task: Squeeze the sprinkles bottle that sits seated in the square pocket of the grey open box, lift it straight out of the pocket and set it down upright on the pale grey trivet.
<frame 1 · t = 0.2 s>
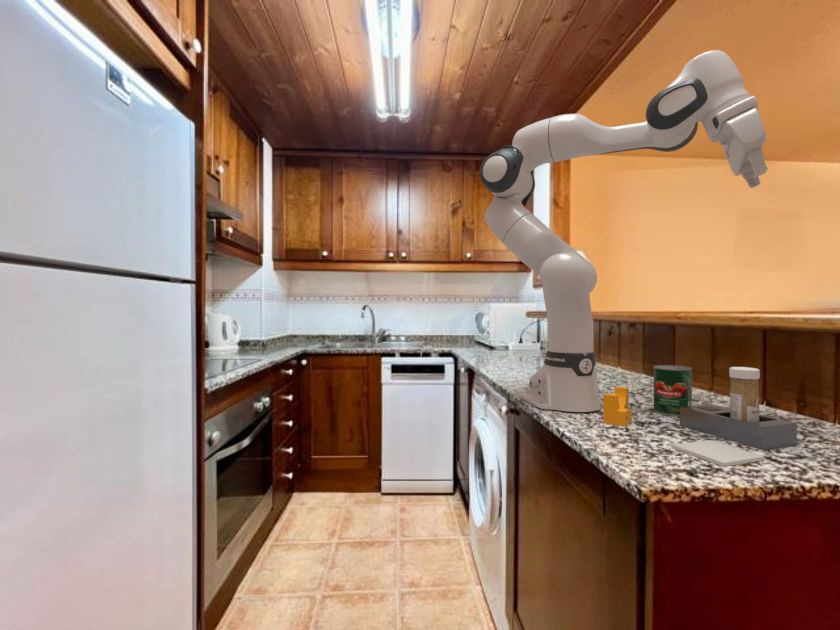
hand: (758, 180, 82), 51 cm above the counter, tool tilted 20°, fingers open, 8 cm apart
orange stepped block: (620, 420, 91), on the counter
sprinkles bottle: (744, 438, 77), resting in grey open box
grey open box: (733, 434, 79), on the counter
canned tomato: (672, 413, 96), on the counter
trivet: (716, 453, 68), on the counter
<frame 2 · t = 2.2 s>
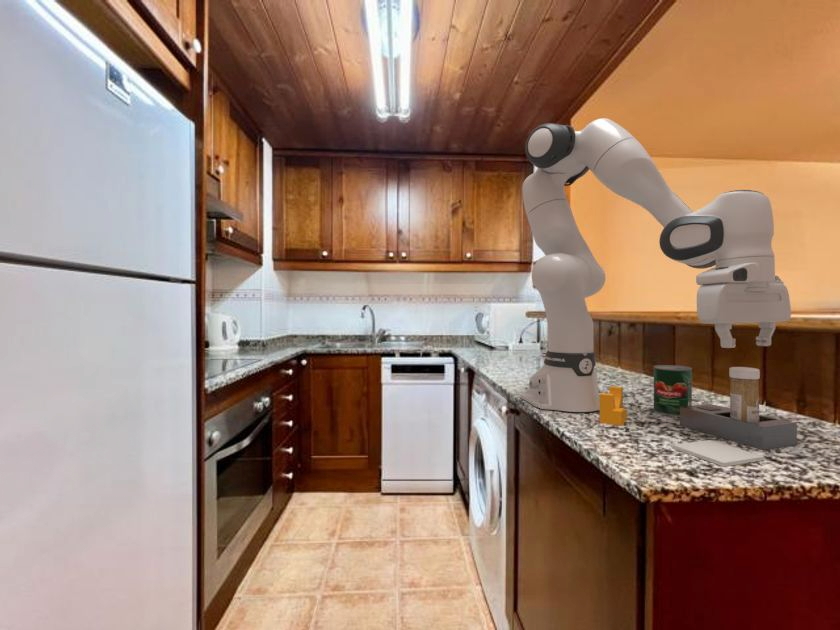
hand: (746, 346, 77), 17 cm above the counter, tool pointing down, fingers open, 8 cm apart
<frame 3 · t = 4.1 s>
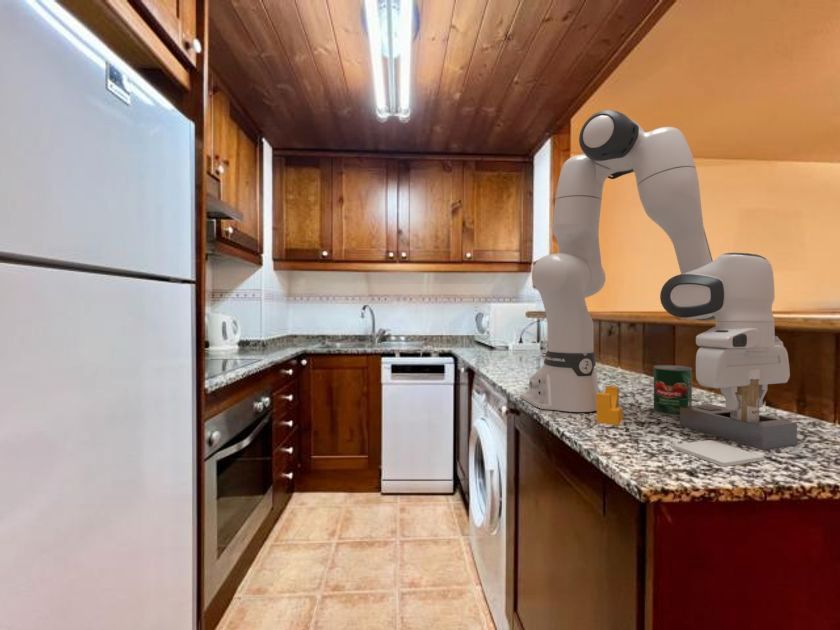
hand: (744, 408, 77), 6 cm above the counter, tool pointing down, fingers closed on sprinkles bottle, 4 cm apart
sprinkles bottle: (744, 438, 77), resting in grey open box, touching gripper
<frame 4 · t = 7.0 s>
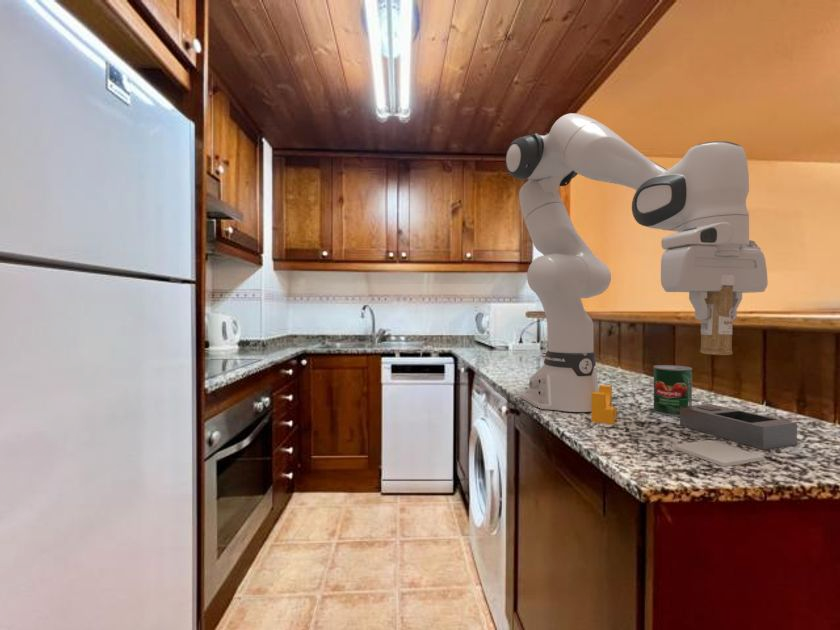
hand: (715, 319, 68), 23 cm above the counter, tool pointing down, fingers closed on sprinkles bottle, 4 cm apart
orange stepped block: (606, 418, 93), on the counter
sprinkles bottle: (715, 355, 68), point 17 cm above the counter, touching gripper
everything else where it was.
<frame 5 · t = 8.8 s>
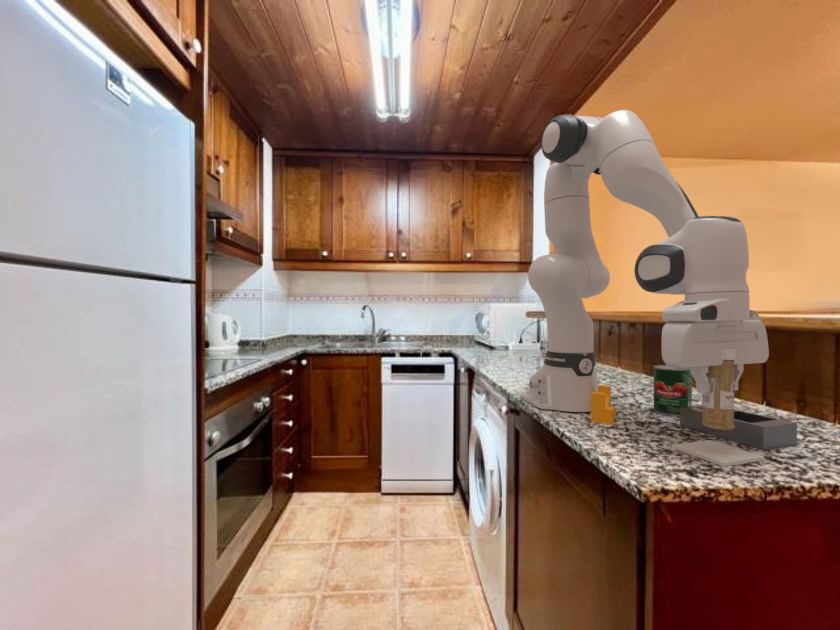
hand: (717, 391, 68), 11 cm above the counter, tool pointing down, fingers closed on sprinkles bottle, 4 cm apart
sprinkles bottle: (717, 428, 68), point 5 cm above the counter, touching gripper
everything else where it was.
when the fingers open (7 cm above the counter, at t = 10.2 s): sprinkles bottle stays where it is, resting on trivet.
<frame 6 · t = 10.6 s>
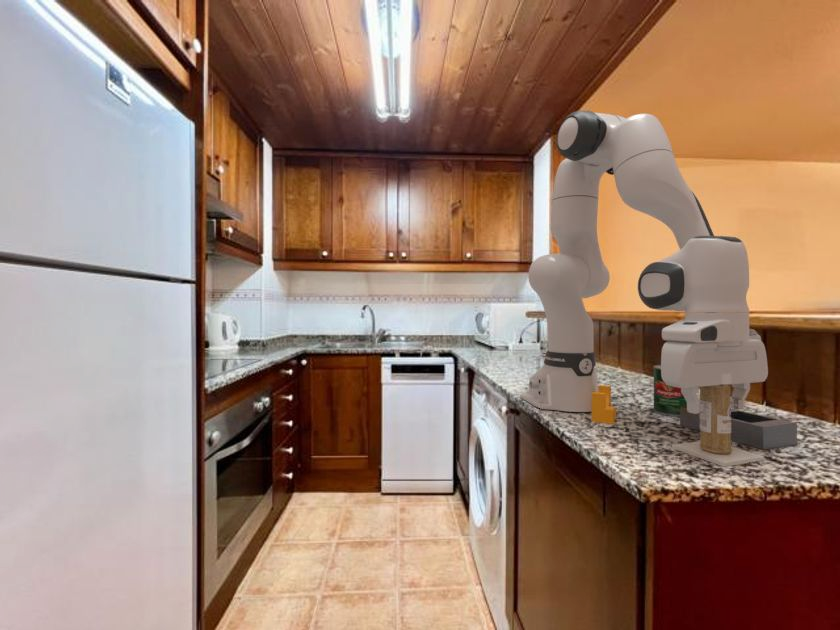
hand: (716, 410, 68), 7 cm above the counter, tool pointing down, fingers open, 8 cm apart
sprinkles bottle: (715, 451, 68), resting on trivet
everything else where it was.
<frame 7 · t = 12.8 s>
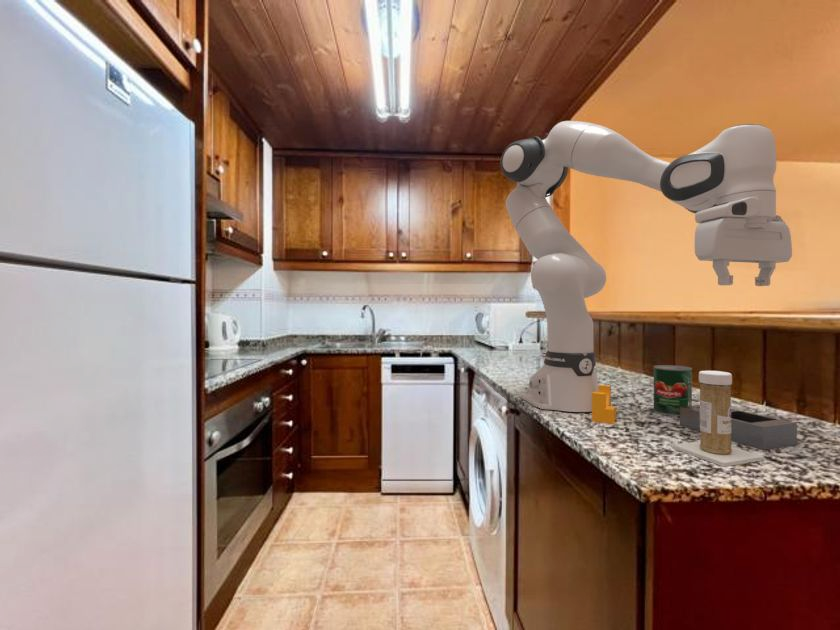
hand: (744, 285, 76), 29 cm above the counter, tool pointing down, fingers open, 8 cm apart
orange stepped block: (606, 418, 93), on the counter, touching arm
everything else where it was.
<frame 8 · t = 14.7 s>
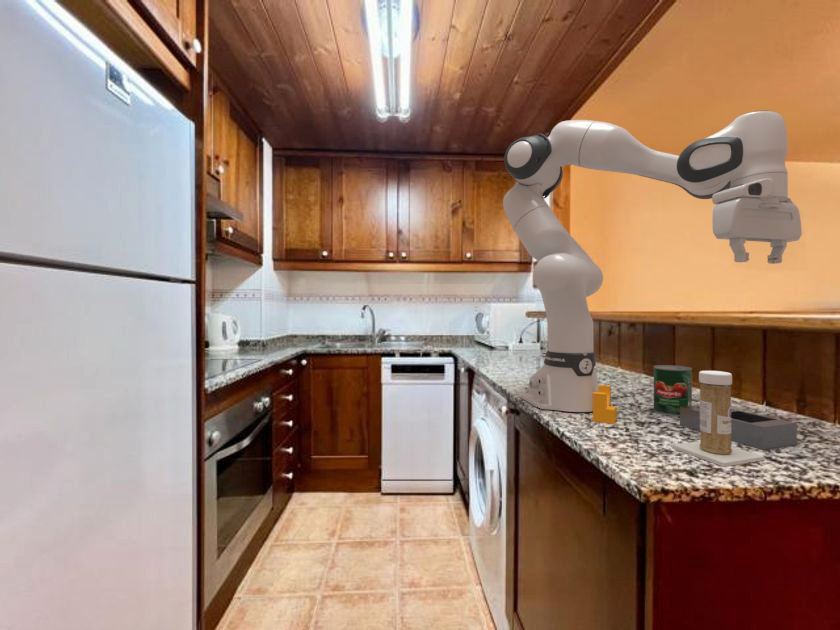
hand: (758, 262, 81), 34 cm above the counter, tool pointing down, fingers open, 8 cm apart
orange stepped block: (606, 418, 93), on the counter
everything else where it was.
at the end: sprinkles bottle inside the target area (0.2 cm from its centre), resting on trivet; sprinkles bottle tilted 0°; the gripper is holding nothing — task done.
